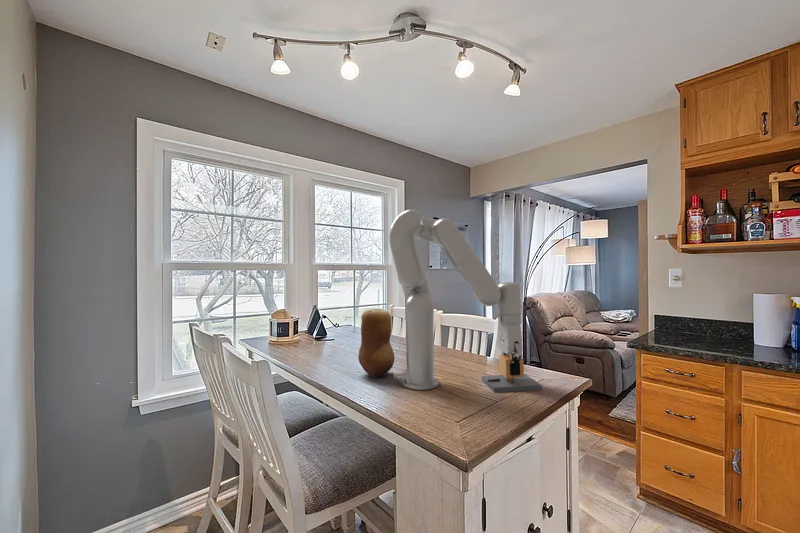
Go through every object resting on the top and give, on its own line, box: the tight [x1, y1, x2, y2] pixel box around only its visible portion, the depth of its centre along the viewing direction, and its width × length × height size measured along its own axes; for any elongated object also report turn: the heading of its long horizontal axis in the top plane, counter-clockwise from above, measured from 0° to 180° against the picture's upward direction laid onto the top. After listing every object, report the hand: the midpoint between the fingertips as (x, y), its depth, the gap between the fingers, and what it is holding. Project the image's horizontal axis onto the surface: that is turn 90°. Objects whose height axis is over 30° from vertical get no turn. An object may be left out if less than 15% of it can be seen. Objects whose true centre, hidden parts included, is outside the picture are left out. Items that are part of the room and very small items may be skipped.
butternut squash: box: [358, 308, 395, 378], centre depth 132 cm, size 14×13×25 cm
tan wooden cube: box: [498, 354, 525, 378], centre depth 119 cm, size 6×6×6 cm
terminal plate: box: [481, 373, 543, 393], centre depth 119 cm, size 16×12×6 cm
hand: (511, 371), depth 119 cm, fingers closed on tan wooden cube, 5 cm apart
